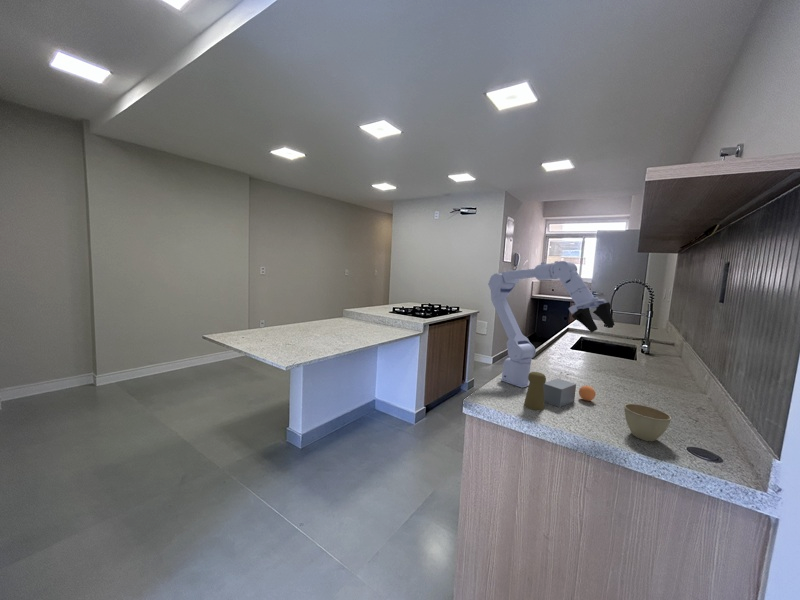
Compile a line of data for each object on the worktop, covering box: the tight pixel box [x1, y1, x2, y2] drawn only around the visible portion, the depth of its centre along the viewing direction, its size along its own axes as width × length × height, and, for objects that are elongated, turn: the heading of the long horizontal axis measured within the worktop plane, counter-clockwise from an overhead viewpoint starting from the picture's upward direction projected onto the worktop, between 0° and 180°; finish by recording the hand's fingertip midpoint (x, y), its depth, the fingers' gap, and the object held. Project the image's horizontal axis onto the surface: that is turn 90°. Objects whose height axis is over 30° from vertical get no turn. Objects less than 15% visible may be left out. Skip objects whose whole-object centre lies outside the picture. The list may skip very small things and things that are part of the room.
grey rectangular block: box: [543, 378, 577, 408], centre depth 108 cm, size 6×11×6 cm, turn 129°
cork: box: [523, 371, 547, 411], centre depth 102 cm, size 6×6×11 cm
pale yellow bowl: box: [623, 403, 672, 442], centre depth 86 cm, size 10×10×7 cm
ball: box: [578, 385, 596, 402], centre depth 111 cm, size 5×5×5 cm
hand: (603, 328), depth 100 cm, fingers open, 7 cm apart
